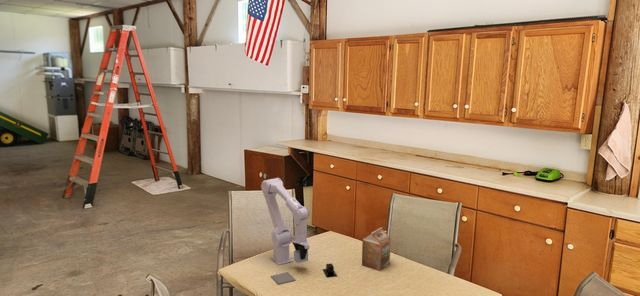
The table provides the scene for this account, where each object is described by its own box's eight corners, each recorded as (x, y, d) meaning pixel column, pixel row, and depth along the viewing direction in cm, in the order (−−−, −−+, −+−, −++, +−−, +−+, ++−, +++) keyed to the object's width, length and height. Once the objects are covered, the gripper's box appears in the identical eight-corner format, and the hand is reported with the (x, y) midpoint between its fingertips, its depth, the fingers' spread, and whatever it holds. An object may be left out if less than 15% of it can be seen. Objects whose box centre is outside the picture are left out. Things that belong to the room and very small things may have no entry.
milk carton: (379, 271, 217) (380, 235, 213) (361, 265, 223) (362, 230, 220) (389, 264, 225) (391, 229, 222) (372, 258, 231) (373, 225, 228)
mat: (270, 277, 209) (270, 275, 209) (287, 273, 214) (287, 271, 213) (278, 284, 201) (278, 283, 201) (295, 280, 206) (295, 279, 206)
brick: (293, 260, 217) (293, 250, 216) (304, 257, 220) (304, 248, 219) (297, 263, 214) (297, 253, 213) (308, 260, 216) (308, 251, 216)
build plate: (320, 269, 220) (320, 260, 219) (333, 267, 221) (334, 259, 221) (325, 280, 208) (326, 271, 207) (340, 278, 209) (340, 269, 209)
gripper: (287, 228, 218) (287, 253, 221) (300, 237, 206) (300, 264, 208) (300, 226, 222) (299, 250, 224) (313, 235, 209) (312, 261, 212)
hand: (300, 257), depth 216 cm, fingers closed on brick, 4 cm apart
